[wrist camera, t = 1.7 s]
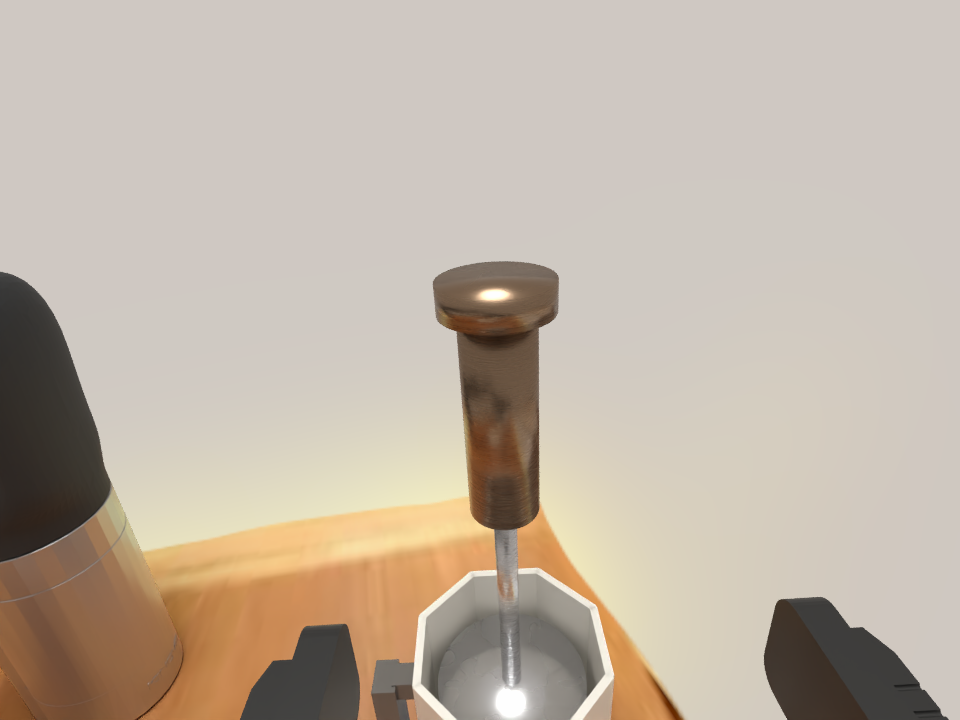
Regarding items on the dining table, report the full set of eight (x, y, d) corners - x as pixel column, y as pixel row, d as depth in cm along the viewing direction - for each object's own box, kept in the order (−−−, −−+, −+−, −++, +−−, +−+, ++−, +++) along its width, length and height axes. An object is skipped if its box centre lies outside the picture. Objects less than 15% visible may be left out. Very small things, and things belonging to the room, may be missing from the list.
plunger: (435, 772, 25) (365, 327, 16) (442, 625, 32) (397, 255, 23) (600, 763, 25) (637, 312, 16) (572, 619, 32) (585, 245, 23)
